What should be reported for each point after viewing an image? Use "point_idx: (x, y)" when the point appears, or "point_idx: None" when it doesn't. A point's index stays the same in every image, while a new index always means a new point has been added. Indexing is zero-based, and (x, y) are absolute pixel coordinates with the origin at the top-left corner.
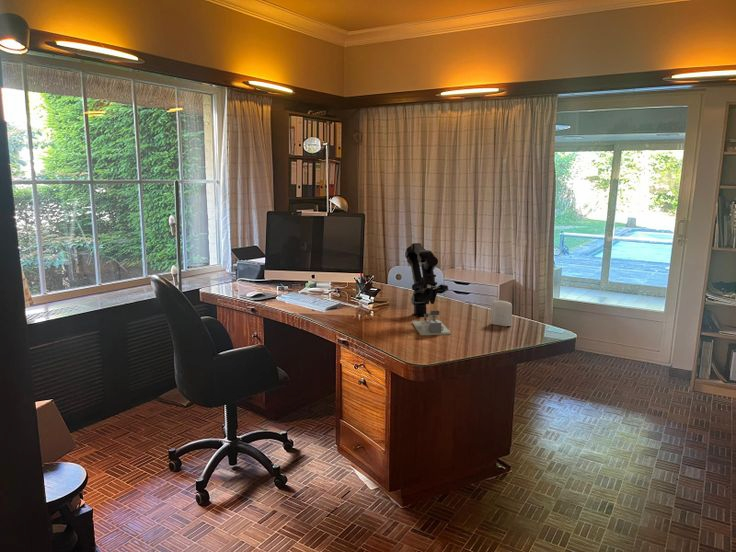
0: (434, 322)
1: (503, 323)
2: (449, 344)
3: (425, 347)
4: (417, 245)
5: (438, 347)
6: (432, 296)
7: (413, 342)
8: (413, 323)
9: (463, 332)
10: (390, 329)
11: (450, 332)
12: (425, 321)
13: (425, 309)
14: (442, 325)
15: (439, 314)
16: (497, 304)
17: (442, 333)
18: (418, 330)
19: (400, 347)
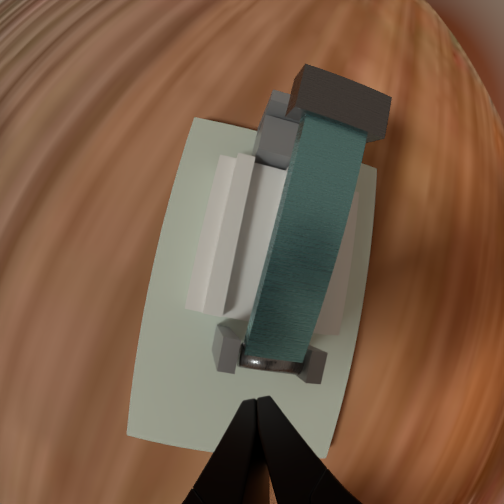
0: (245, 278)
1: None
2: (282, 17)
3: (382, 40)
4: None
5: (337, 17)
6: (300, 471)
7: (417, 103)
8: (333, 423)
9: (99, 136)
10: (461, 345)
11: (195, 118)
12: (328, 285)
13: None
14: (223, 167)
15: (296, 76)
16: None
17: (247, 132)
18: (368, 246)
19: (455, 88)
